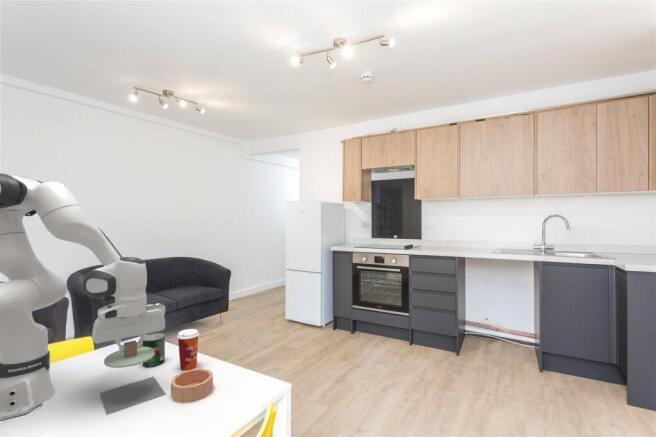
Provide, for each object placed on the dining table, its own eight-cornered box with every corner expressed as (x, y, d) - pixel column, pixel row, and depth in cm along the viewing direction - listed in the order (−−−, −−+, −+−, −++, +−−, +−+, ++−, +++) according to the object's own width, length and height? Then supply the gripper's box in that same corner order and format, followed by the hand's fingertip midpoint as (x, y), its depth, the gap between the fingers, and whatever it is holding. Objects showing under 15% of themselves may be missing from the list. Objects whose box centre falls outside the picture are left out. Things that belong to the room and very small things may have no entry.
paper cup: (191, 374, 119) (190, 336, 119) (173, 372, 120) (172, 334, 120) (203, 364, 126) (203, 328, 126) (186, 362, 128) (185, 327, 128)
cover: (107, 372, 95) (108, 356, 95) (101, 356, 105) (101, 341, 105) (159, 359, 104) (159, 344, 104) (148, 345, 115) (149, 332, 115)
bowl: (178, 408, 97) (178, 392, 97) (166, 392, 106) (166, 377, 106) (218, 393, 105) (218, 378, 105) (204, 379, 115) (204, 365, 115)
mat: (106, 416, 94) (106, 414, 94) (99, 394, 106) (99, 392, 106) (166, 395, 104) (166, 394, 104) (153, 377, 116) (153, 376, 116)
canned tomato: (141, 370, 122) (141, 341, 122) (142, 362, 129) (142, 335, 129) (165, 366, 125) (165, 337, 125) (165, 358, 132) (164, 331, 132)
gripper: (163, 300, 114) (162, 339, 114) (91, 310, 100) (91, 354, 101) (168, 304, 109) (167, 344, 109) (94, 315, 96) (93, 361, 96)
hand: (130, 349), depth 105 cm, fingers closed on cover, 3 cm apart
